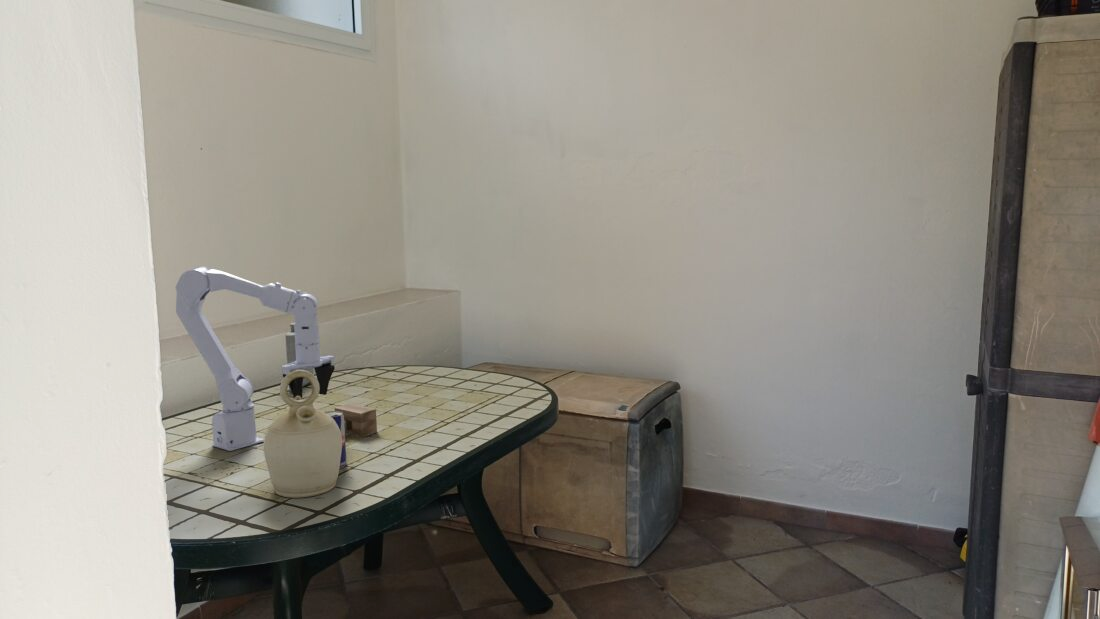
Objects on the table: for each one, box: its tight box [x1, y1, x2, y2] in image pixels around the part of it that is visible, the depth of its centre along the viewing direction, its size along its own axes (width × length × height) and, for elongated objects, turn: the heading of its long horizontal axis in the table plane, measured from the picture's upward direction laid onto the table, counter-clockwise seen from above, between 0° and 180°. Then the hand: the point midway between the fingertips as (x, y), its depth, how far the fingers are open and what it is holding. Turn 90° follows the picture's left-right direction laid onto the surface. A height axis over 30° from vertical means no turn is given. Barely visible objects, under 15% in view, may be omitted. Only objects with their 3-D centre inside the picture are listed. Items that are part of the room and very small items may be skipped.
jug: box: [263, 370, 342, 499], centre depth 170 cm, size 15×16×25 cm
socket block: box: [334, 403, 378, 438], centre depth 211 cm, size 5×10×6 cm, turn 53°
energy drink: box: [323, 410, 348, 470], centre depth 184 cm, size 5×5×12 cm
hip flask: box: [284, 322, 314, 392], centre depth 261 cm, size 16×4×20 cm, turn 177°
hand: (310, 397), depth 205 cm, fingers open, 7 cm apart
